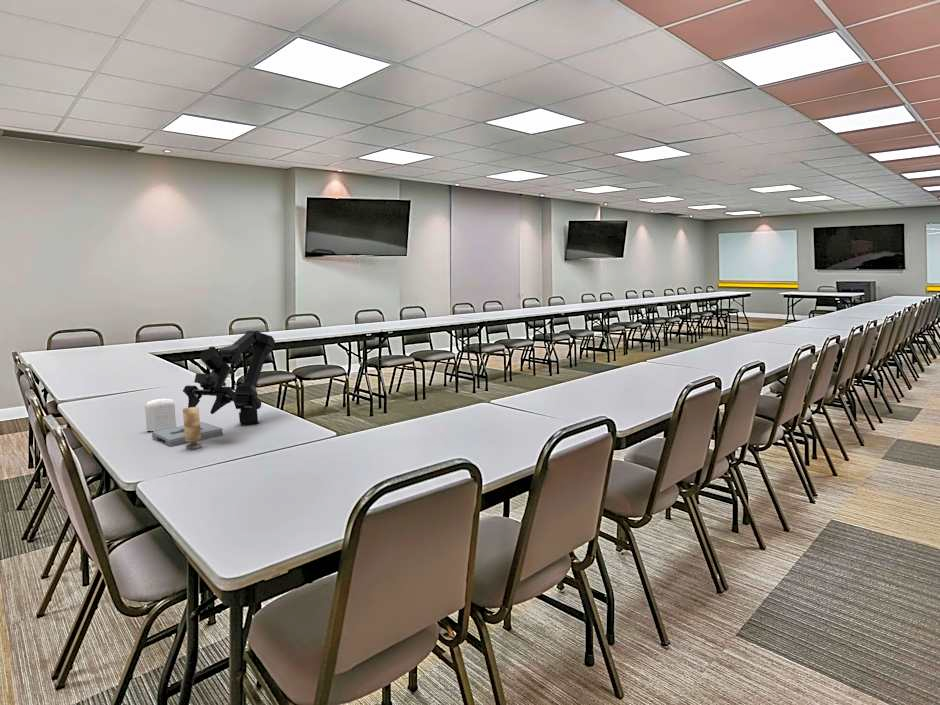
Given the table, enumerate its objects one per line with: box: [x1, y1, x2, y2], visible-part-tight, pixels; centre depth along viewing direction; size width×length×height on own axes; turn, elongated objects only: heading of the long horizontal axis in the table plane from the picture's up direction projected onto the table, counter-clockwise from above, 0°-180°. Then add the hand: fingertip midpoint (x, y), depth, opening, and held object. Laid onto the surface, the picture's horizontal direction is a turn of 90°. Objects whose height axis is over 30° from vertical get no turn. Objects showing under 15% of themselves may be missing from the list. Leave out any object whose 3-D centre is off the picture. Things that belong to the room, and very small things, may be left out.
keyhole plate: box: [151, 421, 224, 447], centre depth 217 cm, size 19×16×2 cm
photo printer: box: [144, 398, 177, 432], centre depth 227 cm, size 10×4×12 cm, turn 123°
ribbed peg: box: [182, 406, 202, 450], centre depth 202 cm, size 5×5×14 cm
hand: (200, 413), depth 206 cm, fingers open, 9 cm apart
